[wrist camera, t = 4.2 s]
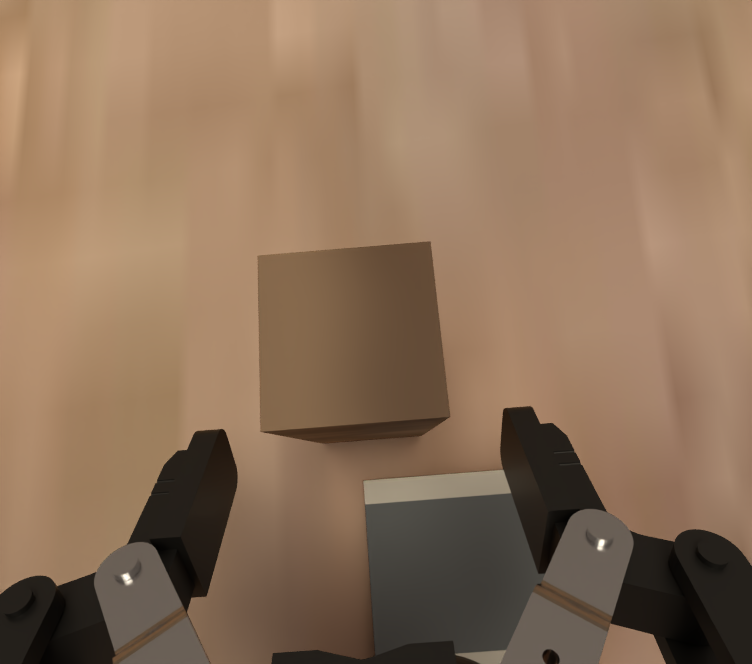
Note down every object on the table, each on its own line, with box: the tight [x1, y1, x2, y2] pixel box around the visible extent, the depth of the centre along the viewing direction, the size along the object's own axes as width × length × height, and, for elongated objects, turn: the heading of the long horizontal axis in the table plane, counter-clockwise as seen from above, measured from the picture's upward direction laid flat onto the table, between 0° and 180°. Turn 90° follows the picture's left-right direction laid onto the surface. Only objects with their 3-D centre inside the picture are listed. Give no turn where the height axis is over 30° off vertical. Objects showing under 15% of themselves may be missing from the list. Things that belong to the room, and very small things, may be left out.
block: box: [258, 242, 450, 443], centre depth 17 cm, size 4×4×11 cm
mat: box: [364, 470, 545, 664], centre depth 21 cm, size 8×8×1 cm
